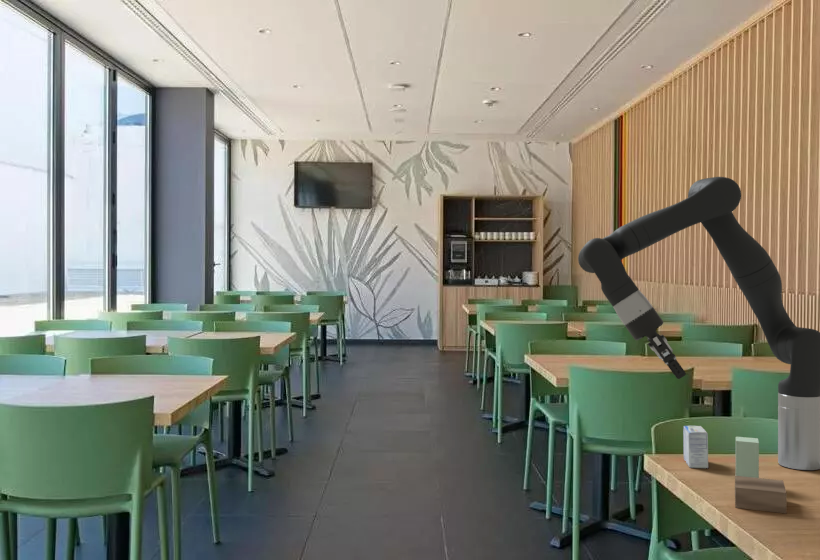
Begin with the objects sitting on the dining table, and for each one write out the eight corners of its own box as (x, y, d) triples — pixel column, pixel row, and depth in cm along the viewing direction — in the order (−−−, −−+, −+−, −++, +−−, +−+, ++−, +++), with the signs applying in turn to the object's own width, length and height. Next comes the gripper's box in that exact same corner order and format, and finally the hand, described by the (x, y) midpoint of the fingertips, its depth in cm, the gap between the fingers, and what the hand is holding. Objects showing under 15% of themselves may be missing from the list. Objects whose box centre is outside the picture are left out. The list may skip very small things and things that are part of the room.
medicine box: (708, 469, 171) (708, 432, 171) (688, 468, 172) (688, 431, 172) (702, 460, 179) (701, 425, 179) (683, 459, 180) (682, 425, 180)
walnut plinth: (734, 494, 152) (734, 475, 152) (783, 499, 148) (783, 480, 148) (735, 507, 143) (735, 487, 143) (786, 513, 140) (786, 492, 140)
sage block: (735, 481, 161) (735, 436, 161) (757, 483, 160) (757, 438, 159) (735, 486, 157) (735, 440, 157) (758, 489, 155) (758, 442, 155)
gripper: (653, 305, 157) (698, 368, 154) (650, 305, 171) (692, 363, 168) (623, 324, 159) (668, 387, 155) (623, 323, 172) (664, 381, 169)
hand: (680, 375), depth 161 cm, fingers open, 8 cm apart
